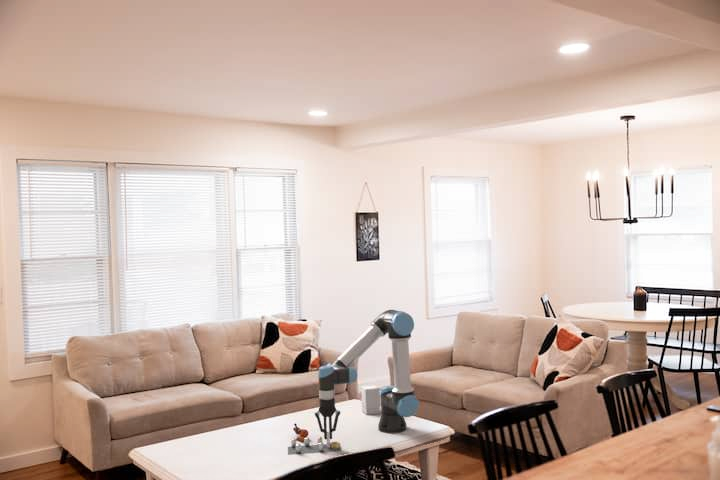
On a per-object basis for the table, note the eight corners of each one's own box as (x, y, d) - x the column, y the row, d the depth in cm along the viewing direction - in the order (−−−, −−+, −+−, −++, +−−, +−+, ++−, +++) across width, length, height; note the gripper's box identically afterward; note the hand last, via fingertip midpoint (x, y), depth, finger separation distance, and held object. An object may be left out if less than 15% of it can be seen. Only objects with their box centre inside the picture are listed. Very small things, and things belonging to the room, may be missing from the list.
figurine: (304, 433, 353) (315, 437, 340) (294, 444, 350) (305, 450, 337) (291, 420, 350) (303, 424, 337) (281, 432, 347) (292, 437, 334)
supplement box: (380, 413, 387) (380, 388, 387) (366, 415, 384) (365, 389, 384) (376, 409, 396) (375, 384, 395) (361, 411, 393) (360, 386, 393)
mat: (339, 444, 333) (339, 443, 333) (341, 452, 321) (341, 450, 321) (287, 447, 330) (287, 446, 330) (287, 455, 318) (287, 454, 318)
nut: (339, 446, 327) (339, 441, 327) (338, 449, 324) (338, 444, 324) (330, 446, 328) (330, 441, 328) (329, 449, 324) (328, 444, 324)
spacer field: (322, 444, 332) (322, 436, 332) (323, 452, 320) (323, 443, 320) (291, 446, 330) (291, 438, 330) (291, 454, 318) (291, 445, 318)
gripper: (339, 395, 330) (340, 442, 331) (313, 396, 329) (314, 444, 329) (340, 398, 323) (342, 447, 323) (314, 400, 321) (315, 448, 322)
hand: (328, 445), depth 326 cm, fingers closed
